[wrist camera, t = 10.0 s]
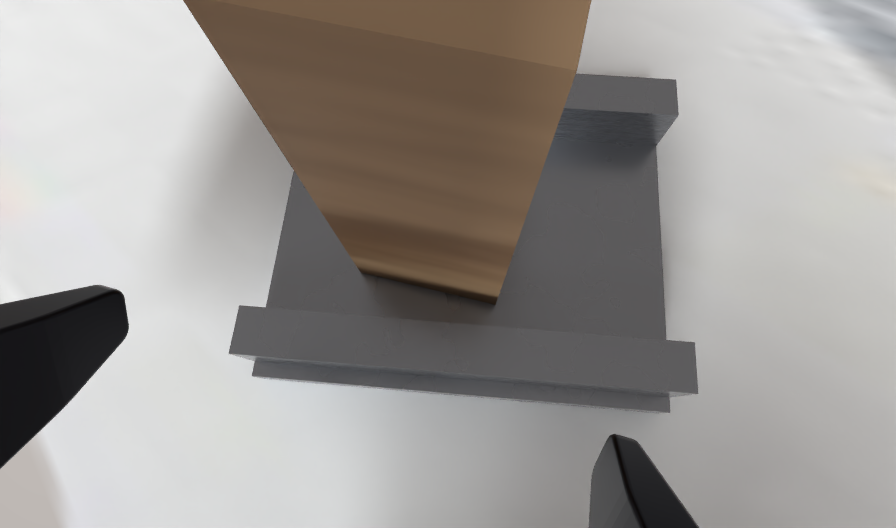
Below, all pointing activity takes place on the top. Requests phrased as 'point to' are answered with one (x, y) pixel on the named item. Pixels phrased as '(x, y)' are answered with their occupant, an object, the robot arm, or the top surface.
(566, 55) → the walnut block
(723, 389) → the top surface
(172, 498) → the top surface
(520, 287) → the bottom track
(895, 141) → the top surface
